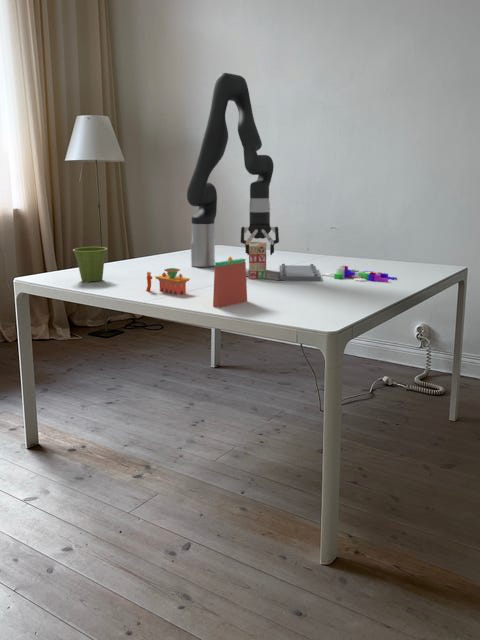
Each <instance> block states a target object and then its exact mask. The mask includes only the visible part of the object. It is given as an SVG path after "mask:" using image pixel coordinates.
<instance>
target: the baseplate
mask: <svg viewBox="0 0 480 640" xmlns="http://www.w3.org/2000/svg"><path fill="white" fill-rule="evenodd" d="M320 275H321V274H320V273H319V271H318V269H317V266H316V265H314V264H313V263H310V265H293V264H292V265H289V264H287V265H285V263H281V264H280V265H279V276H280V279H281V280H280V281H291V282H293V281H297V282H299V281H300V282H302V281H306V282H307V281H308V282H315V281H316V282H321V276H320Z"/></svg>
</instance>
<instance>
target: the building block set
mask: <svg viewBox="0 0 480 640" xmlns="http://www.w3.org/2000/svg"><path fill="white" fill-rule="evenodd" d="M321 276H322V277H329V278H334V280H340V279H353V280H354V281H355V282H359V283H361V282H368V281H369V282H379V283H388V282H389V279H391V280H390V281H395V280H394V279H396V280H397V278H398V277H396V276H395V277H394V276H389V273H385V272H379V271H368V270H366V271H365V270H364V271H360V270H356V269H349V266H348V265H341V266H339V268H337V269H336V273H335V272H334V273H333V272H325V273H322V274H321Z"/></svg>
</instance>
